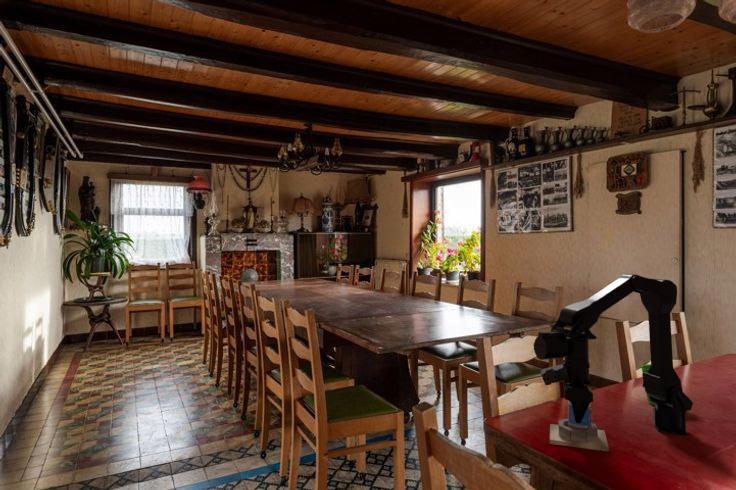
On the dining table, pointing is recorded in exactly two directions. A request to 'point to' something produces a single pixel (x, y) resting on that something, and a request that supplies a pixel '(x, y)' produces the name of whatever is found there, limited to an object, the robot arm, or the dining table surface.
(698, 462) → the dining table surface
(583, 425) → the pill bottle
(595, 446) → the collar
